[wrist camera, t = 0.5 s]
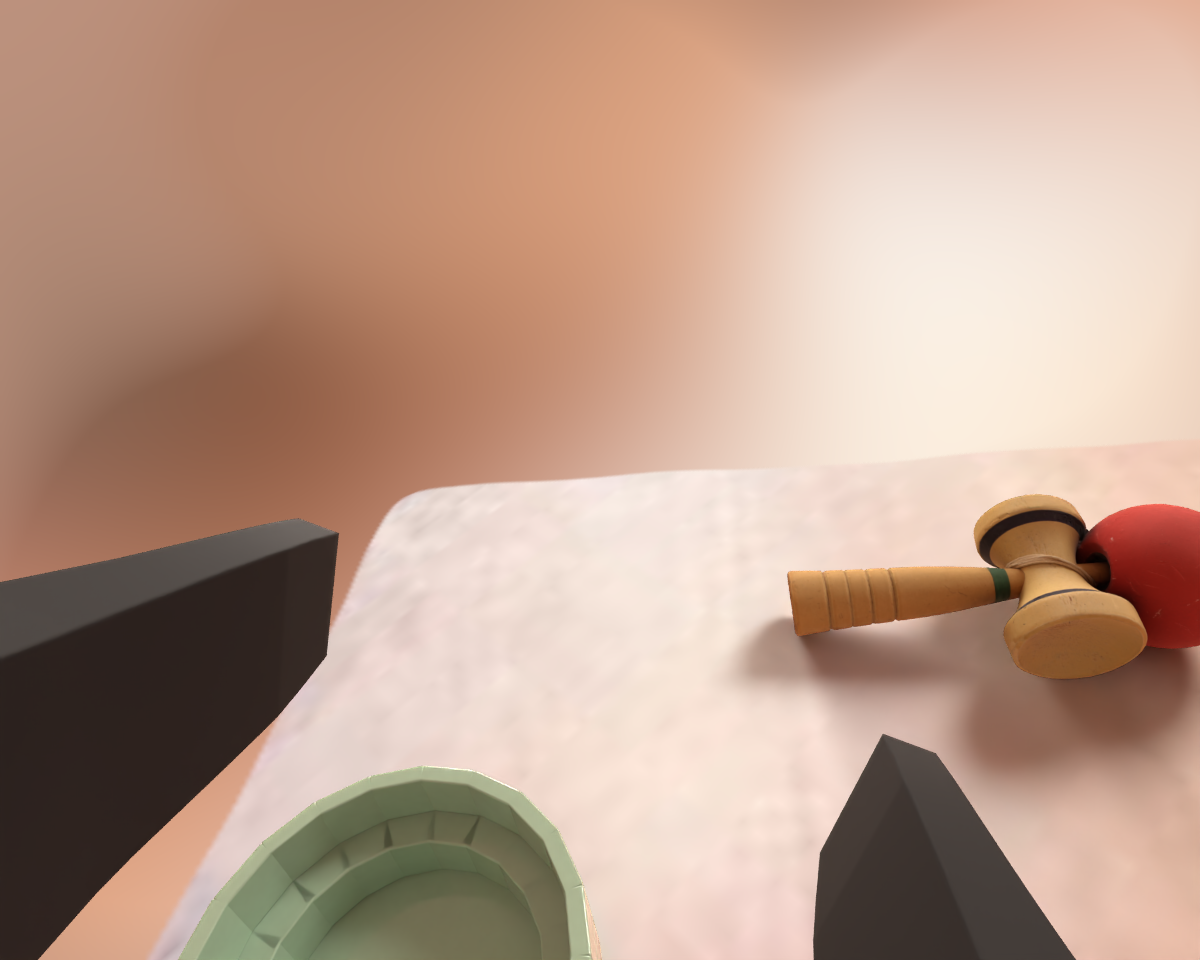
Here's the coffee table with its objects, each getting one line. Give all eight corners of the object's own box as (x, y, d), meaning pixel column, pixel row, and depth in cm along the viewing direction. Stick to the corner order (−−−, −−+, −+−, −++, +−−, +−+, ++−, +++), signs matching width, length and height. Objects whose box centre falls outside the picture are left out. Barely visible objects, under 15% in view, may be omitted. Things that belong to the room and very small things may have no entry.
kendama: (810, 725, 31) (1302, 691, 27) (790, 607, 29) (1330, 548, 24) (793, 617, 38) (1183, 576, 34) (776, 514, 35) (1195, 456, 31)
